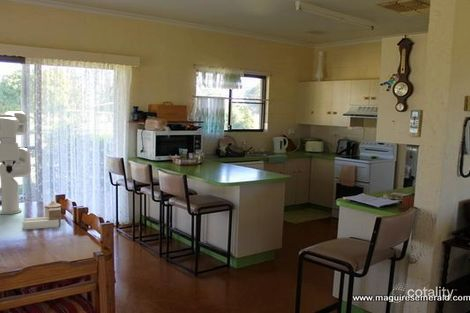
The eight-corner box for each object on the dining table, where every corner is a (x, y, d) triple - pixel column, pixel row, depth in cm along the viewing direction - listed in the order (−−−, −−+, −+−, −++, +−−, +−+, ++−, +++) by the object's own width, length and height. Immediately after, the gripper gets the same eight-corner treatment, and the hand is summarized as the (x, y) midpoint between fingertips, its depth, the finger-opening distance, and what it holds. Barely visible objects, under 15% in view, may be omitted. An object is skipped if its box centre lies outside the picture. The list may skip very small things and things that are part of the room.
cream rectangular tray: (23, 225, 237) (23, 218, 236) (58, 223, 244) (58, 216, 244) (22, 229, 229) (22, 222, 229) (58, 226, 237) (58, 219, 236)
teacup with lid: (63, 221, 249) (62, 201, 247) (46, 223, 243) (46, 203, 242) (58, 216, 258) (58, 197, 257) (42, 218, 253) (41, 199, 252)
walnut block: (49, 222, 240) (48, 208, 240) (60, 221, 243) (60, 207, 242) (49, 224, 236) (49, 210, 235) (60, 223, 238) (60, 209, 238)
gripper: (-8, 140, 230) (-7, 174, 231) (23, 140, 236) (23, 173, 238) (-6, 139, 236) (-6, 172, 238) (23, 139, 242) (24, 171, 244)
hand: (9, 172), depth 238 cm, fingers closed
